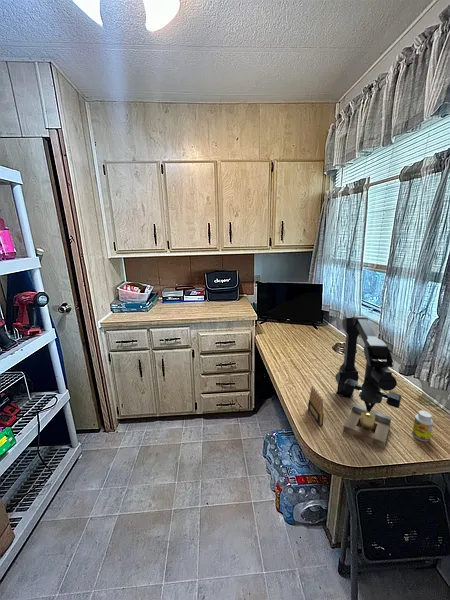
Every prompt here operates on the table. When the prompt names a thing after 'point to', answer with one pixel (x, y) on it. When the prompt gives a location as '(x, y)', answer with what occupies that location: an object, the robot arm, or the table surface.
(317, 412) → the tan upright panel
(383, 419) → the jig
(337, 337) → the table surface
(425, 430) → the supplement bottle
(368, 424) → the cylinder
